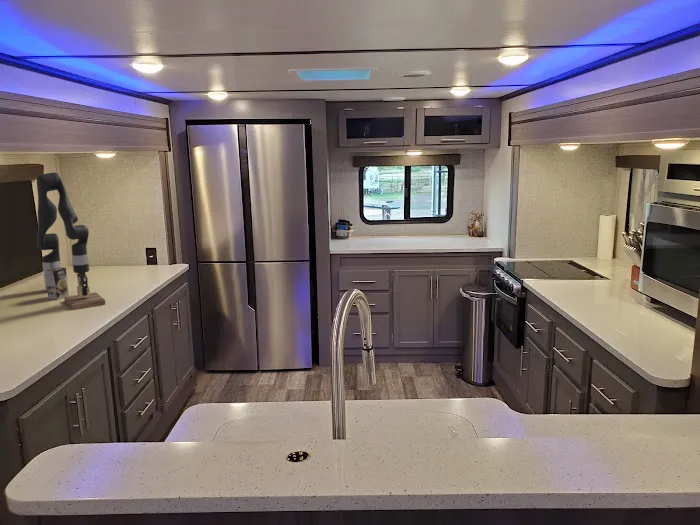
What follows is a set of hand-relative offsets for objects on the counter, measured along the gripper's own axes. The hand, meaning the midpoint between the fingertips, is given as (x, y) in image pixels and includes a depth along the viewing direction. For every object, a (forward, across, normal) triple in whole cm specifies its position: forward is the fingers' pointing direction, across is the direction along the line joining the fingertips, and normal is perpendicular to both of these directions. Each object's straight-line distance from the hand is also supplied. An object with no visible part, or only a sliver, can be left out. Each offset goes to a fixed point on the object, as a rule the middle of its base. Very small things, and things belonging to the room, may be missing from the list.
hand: (83, 294), depth 293 cm
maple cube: (+1, 0, 0) cm, 1 cm away
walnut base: (+5, 0, 0) cm, 5 cm away
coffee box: (+5, -21, -9) cm, 23 cm away
